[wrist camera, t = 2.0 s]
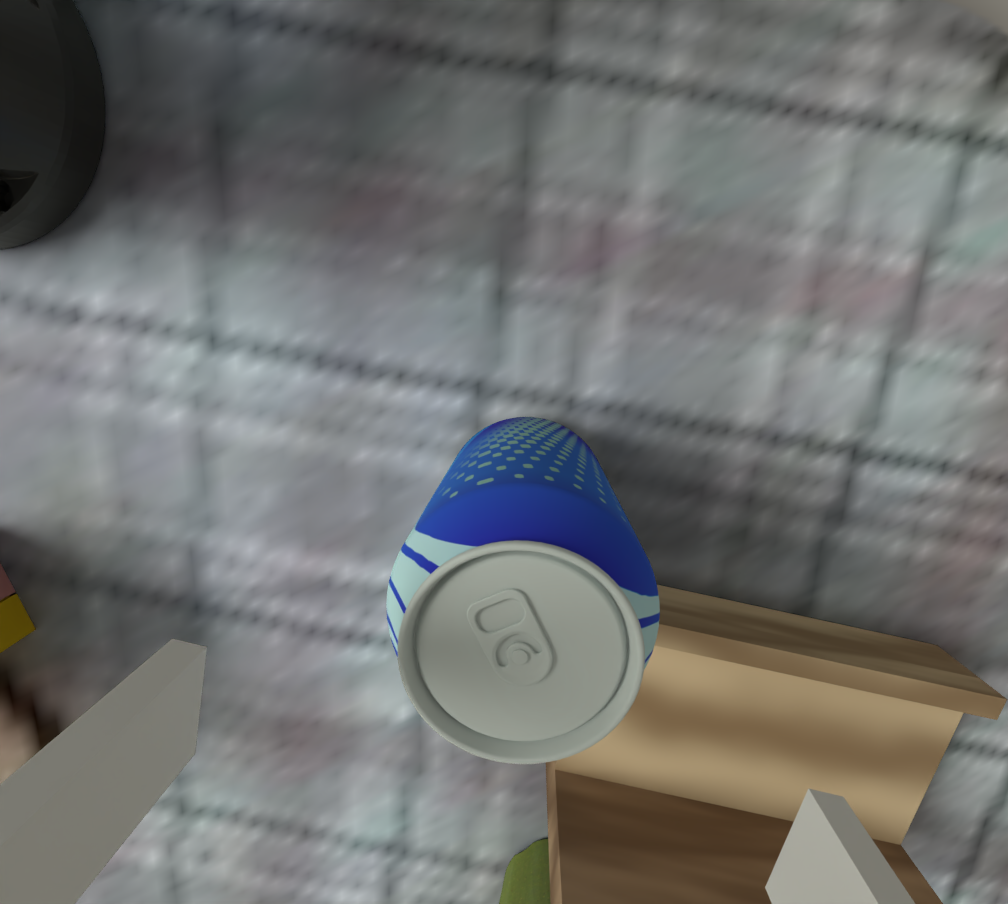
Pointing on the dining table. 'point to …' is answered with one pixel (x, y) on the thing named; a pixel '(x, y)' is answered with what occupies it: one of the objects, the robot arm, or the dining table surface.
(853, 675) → the cleat board
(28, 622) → the alarm clock
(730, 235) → the dining table surface
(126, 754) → the robot arm
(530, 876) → the plant pot
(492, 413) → the dining table surface
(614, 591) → the beer can
